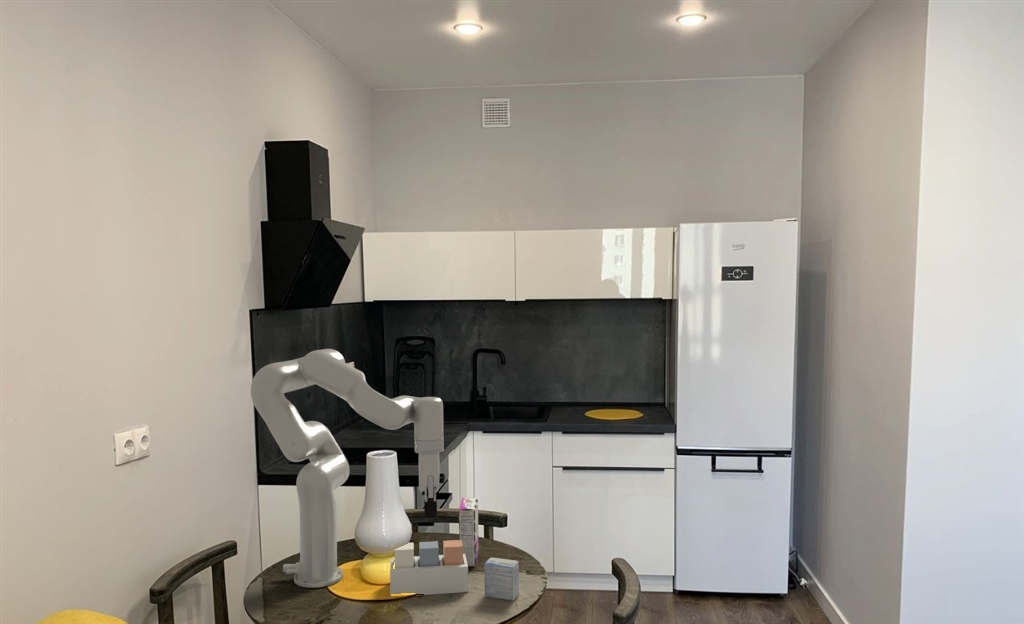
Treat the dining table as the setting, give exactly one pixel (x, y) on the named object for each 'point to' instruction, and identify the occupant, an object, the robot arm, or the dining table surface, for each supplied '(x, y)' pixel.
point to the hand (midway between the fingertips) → (430, 515)
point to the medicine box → (501, 578)
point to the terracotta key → (452, 552)
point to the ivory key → (404, 556)
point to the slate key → (428, 554)
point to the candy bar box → (469, 529)
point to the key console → (429, 578)
